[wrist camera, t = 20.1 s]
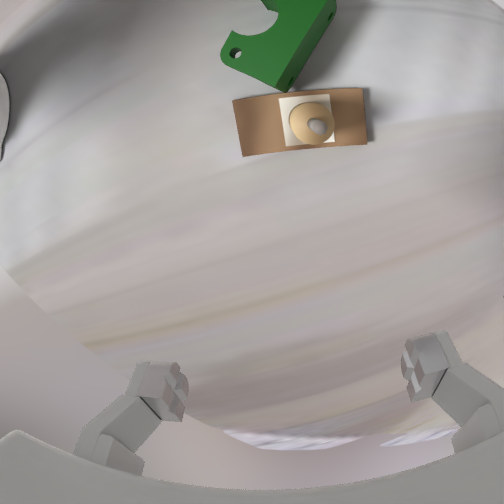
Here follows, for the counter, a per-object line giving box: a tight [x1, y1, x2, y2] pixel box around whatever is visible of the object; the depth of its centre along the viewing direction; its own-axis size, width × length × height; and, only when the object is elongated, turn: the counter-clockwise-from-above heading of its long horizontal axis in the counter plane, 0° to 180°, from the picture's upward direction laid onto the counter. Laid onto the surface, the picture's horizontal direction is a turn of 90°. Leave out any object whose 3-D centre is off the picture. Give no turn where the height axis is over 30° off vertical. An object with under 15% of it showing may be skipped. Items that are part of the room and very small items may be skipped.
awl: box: [289, 103, 335, 145], centre depth 22 cm, size 4×4×9 cm
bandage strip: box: [232, 88, 367, 157], centre depth 27 cm, size 13×6×1 cm, turn 100°
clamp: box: [220, 0, 337, 93], centre depth 20 cm, size 12×6×9 cm, turn 147°
